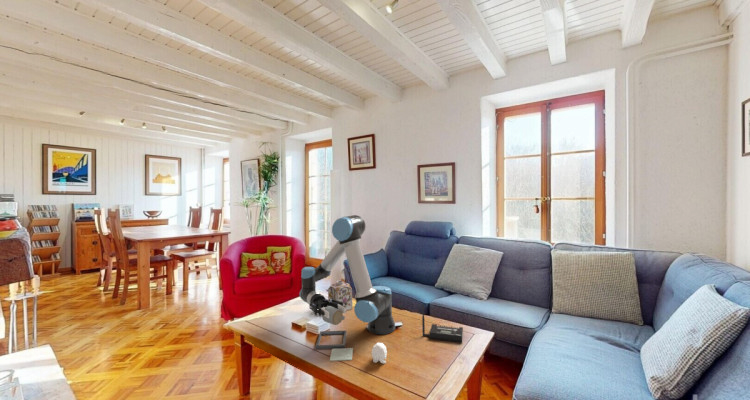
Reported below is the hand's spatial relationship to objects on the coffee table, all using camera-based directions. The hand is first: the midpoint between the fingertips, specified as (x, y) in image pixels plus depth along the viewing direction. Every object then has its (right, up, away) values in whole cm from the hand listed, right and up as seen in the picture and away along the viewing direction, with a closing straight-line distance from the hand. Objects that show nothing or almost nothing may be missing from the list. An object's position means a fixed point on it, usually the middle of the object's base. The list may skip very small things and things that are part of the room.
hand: (336, 313), depth 151 cm
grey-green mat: (+3, -18, -4) cm, 19 cm away
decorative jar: (-4, -17, +53) cm, 55 cm away
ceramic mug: (-2, -7, +5) cm, 9 cm away
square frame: (-4, -18, +10) cm, 21 cm away
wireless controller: (+53, -17, +12) cm, 57 cm away
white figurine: (+21, -18, -8) cm, 29 cm away
